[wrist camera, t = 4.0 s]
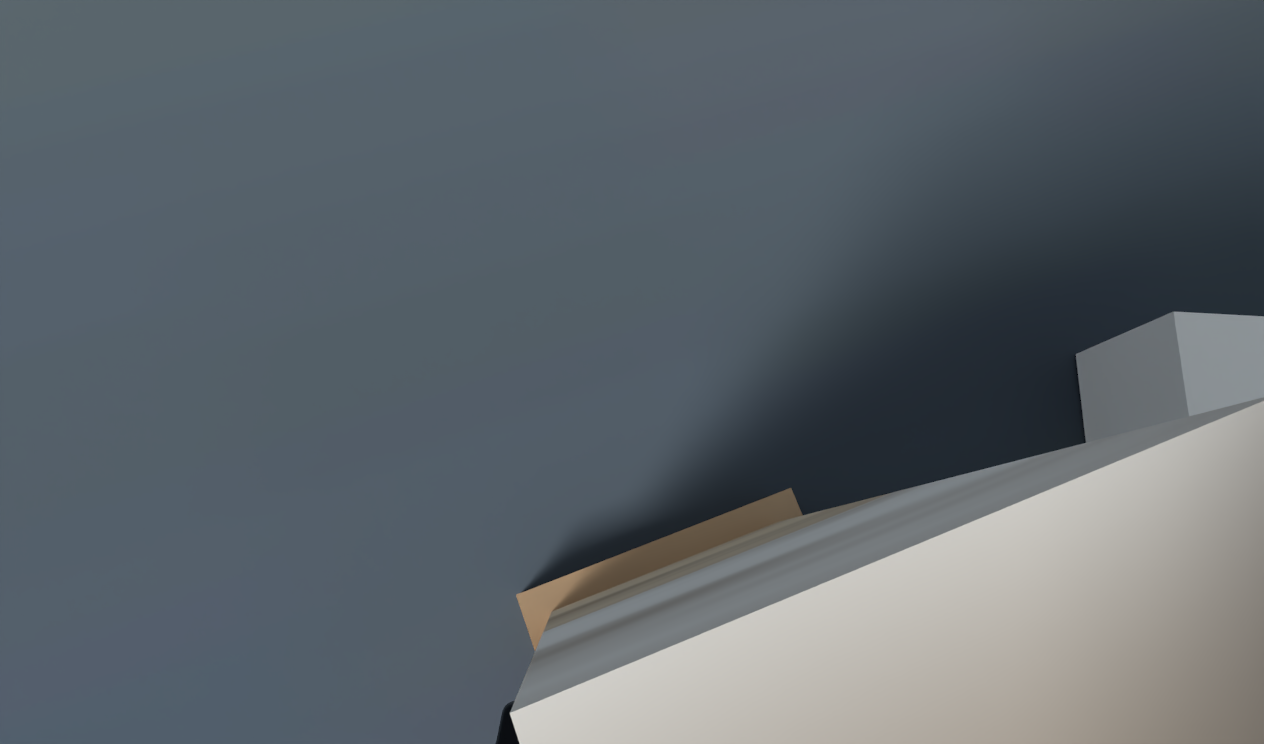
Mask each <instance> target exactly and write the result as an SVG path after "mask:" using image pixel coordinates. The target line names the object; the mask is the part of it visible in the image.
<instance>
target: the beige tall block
mask: <svg viewBox="0 0 1264 744" xmlns="http://www.w3.org/2000/svg"><path fill="white" fill-rule="evenodd" d="M516 596H517V599H518V602H519V605H520V608H521V611H522V614H523V617H524V620H525V623H526V626H527V629H528V632H529V635H530V638H531V641H532V644H533V647H534V650H535V653H534V656H533V658H532V660H531V663H530V665H529V668H528V670H527V673H526V675H525V677H524V680H523V682H522V685H521V687H520V689H519V692H518V694H517V697H516V699H515V702H514V704H513V706H512V709H511V711H510V716H511V719H512V722H513V725H514V728H515V731H516V734H517V737H518V740H519V743H520V744H1264V397H1263V398H1259V399H1255V400H1251V401H1247V402H1243V403H1239V404H1235V405H1232V406H1228V407H1224V408H1220V409H1216V410H1212V411H1208V412H1204V413H1200V414H1196V415H1193V416H1189V417H1185V418H1181V419H1177V420H1173V421H1169V422H1165V423H1161V424H1157V425H1154V426H1150V427H1146V428H1142V429H1138V430H1134V431H1130V432H1126V433H1122V434H1118V435H1115V436H1111V437H1107V438H1103V439H1099V440H1095V441H1091V442H1087V443H1083V444H1079V445H1076V446H1072V447H1068V448H1064V449H1060V450H1056V451H1052V452H1048V453H1044V454H1040V455H1037V456H1033V457H1029V458H1025V459H1021V460H1017V461H1013V462H1009V463H1005V464H1001V465H998V466H994V467H990V468H986V469H982V470H978V471H974V472H970V473H966V474H962V475H959V476H955V477H951V478H947V479H943V480H939V481H935V482H931V483H927V484H924V485H920V486H916V487H912V488H908V489H904V490H900V491H896V492H892V493H888V494H885V495H881V496H877V497H873V498H869V499H865V500H861V501H857V502H853V503H849V504H846V505H842V506H838V507H834V508H830V509H826V510H822V511H818V512H814V513H810V514H807V515H802V513H801V510H800V508H799V505H798V503H797V501H796V498H795V496H794V494H793V491H792V489H791V488H789V489H786V490H784V491H781V492H779V493H776V494H773V495H771V496H768V497H766V498H763V499H761V500H758V501H755V502H753V503H750V504H748V505H745V506H743V507H740V508H738V509H735V510H732V511H730V512H727V513H725V514H722V515H720V516H717V517H714V518H712V519H709V520H707V521H704V522H702V523H699V524H697V525H694V526H691V527H689V528H686V529H684V530H681V531H679V532H676V533H673V534H671V535H668V536H666V537H663V538H661V539H658V540H655V541H653V542H650V543H648V544H645V545H643V546H640V547H638V548H635V549H632V550H630V551H627V552H625V553H622V554H620V555H617V556H614V557H612V558H609V559H607V560H604V561H602V562H599V563H596V564H594V565H591V566H589V567H586V568H584V569H581V570H579V571H576V572H573V573H571V574H568V575H566V576H563V577H561V578H558V579H555V580H553V581H550V582H548V583H545V584H543V585H540V586H537V587H535V588H532V589H530V590H527V591H525V592H522V593H520V594H517V595H516Z"/></svg>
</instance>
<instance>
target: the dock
mask: <svg viewBox="0 0 1264 744" xmlns="http://www.w3.org/2000/svg"><path fill="white" fill-rule="evenodd" d="M1076 362H1077V371H1078V379H1079V388H1080V396H1081V405H1082V414H1083V422H1084V431H1085V440H1086V443H1087V442H1091V441H1095V440H1099V439H1103V438H1107V437H1111V436H1115V435H1118V434H1122V433H1126V432H1130V431H1134V430H1138V429H1142V428H1146V427H1150V426H1154V425H1157V424H1161V423H1165V422H1169V421H1173V420H1177V419H1181V418H1185V417H1189V416H1193V415H1196V414H1200V413H1204V412H1208V411H1212V410H1216V409H1220V408H1224V407H1228V406H1232V405H1235V404H1239V403H1243V402H1247V401H1251V400H1255V399H1259V398H1263V397H1264V316H1246V315H1228V314H1210V313H1191V312H1171V313H1169V314H1167V315H1164V316H1162V317H1160V318H1157V319H1155V320H1153V321H1151V322H1148V323H1146V324H1144V325H1141V326H1139V327H1137V328H1134V329H1132V330H1130V331H1128V332H1125V333H1123V334H1121V335H1118V336H1116V337H1114V338H1112V339H1109V340H1107V341H1105V342H1102V343H1100V344H1098V345H1096V346H1093V347H1091V348H1089V349H1086V350H1084V351H1082V352H1079V353H1077V354H1076Z"/></svg>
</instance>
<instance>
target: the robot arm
mask: <svg viewBox="0 0 1264 744" xmlns="http://www.w3.org/2000/svg"><path fill="white" fill-rule="evenodd" d="M514 702H515V701H512V702H510V703H508V704H507V705H506V706H505V707H504V709H503V712H502V716H501V721H500V726H499V731H498V736H497V741H496V744H520V743H519V740H518V737H517V734H516V731H515V728H514V725H513V722H512V719H511V716H510V711H511V709H512V706H513V704H514Z"/></svg>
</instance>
